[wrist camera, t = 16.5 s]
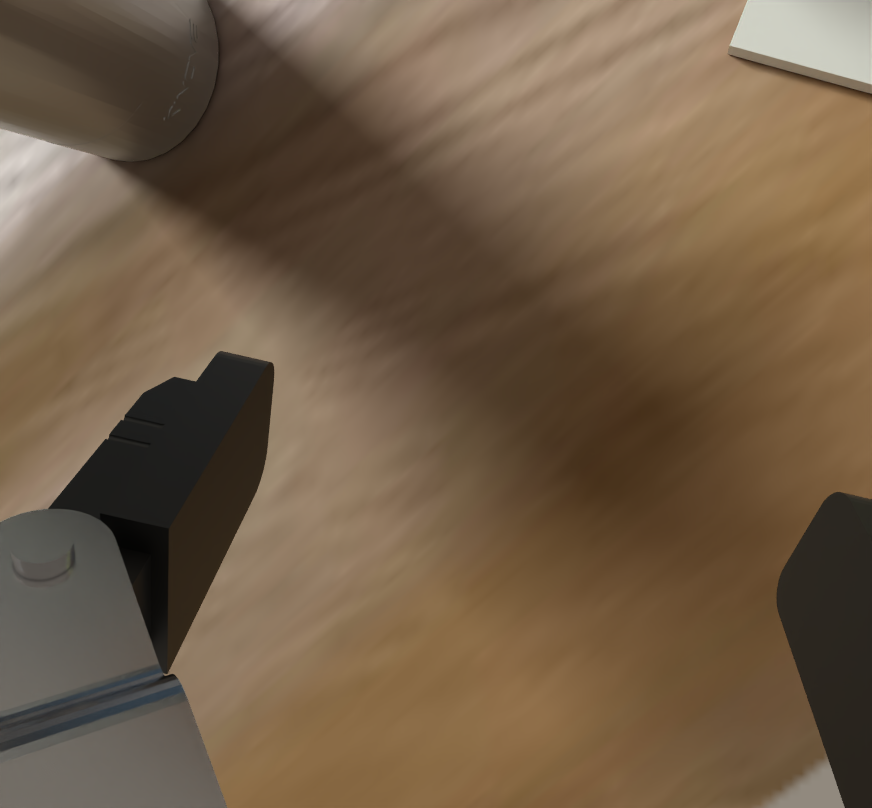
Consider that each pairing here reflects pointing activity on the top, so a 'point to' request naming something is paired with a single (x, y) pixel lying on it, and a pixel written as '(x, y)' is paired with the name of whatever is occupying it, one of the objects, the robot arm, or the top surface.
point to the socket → (809, 38)
